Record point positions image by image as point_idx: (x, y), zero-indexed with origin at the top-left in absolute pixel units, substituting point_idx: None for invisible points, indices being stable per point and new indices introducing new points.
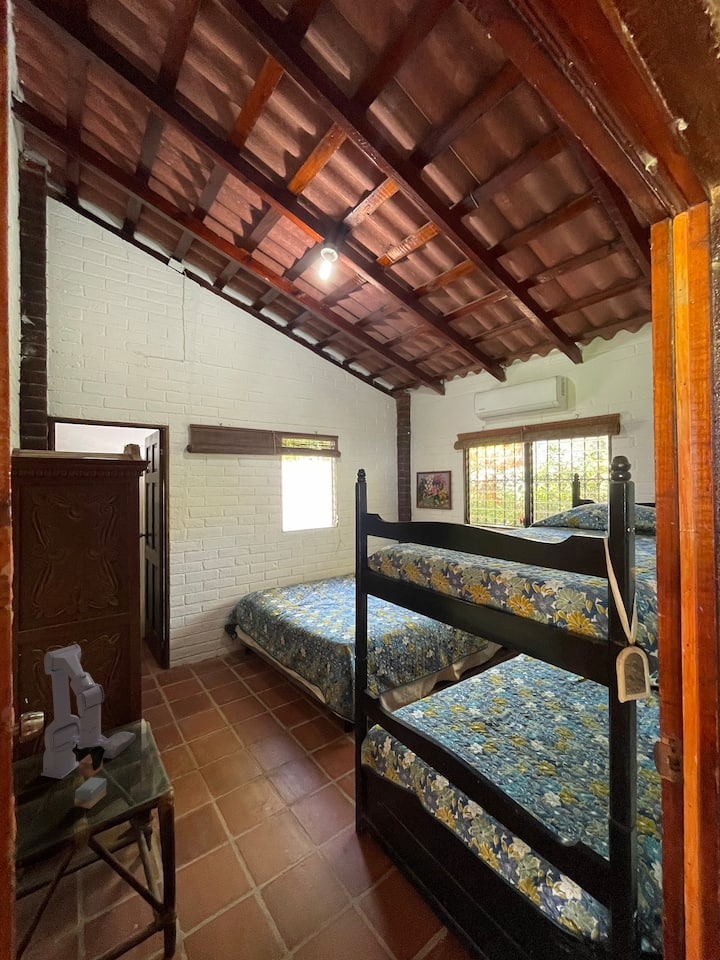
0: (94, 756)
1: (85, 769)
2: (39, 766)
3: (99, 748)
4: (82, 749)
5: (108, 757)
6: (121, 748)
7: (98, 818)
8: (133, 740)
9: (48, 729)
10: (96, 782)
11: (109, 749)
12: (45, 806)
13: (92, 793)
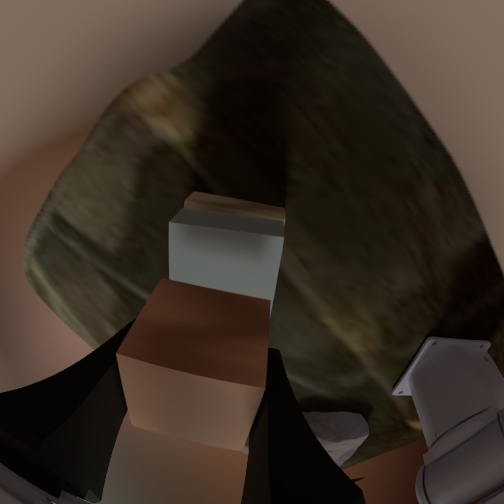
0: (25, 391)
1: (196, 325)
2: (497, 364)
3: (7, 452)
4: (256, 498)
5: (312, 414)
6: None
7: (117, 144)
8: None
9: None
10: None
11: None
12: (418, 208)
13: (171, 225)
